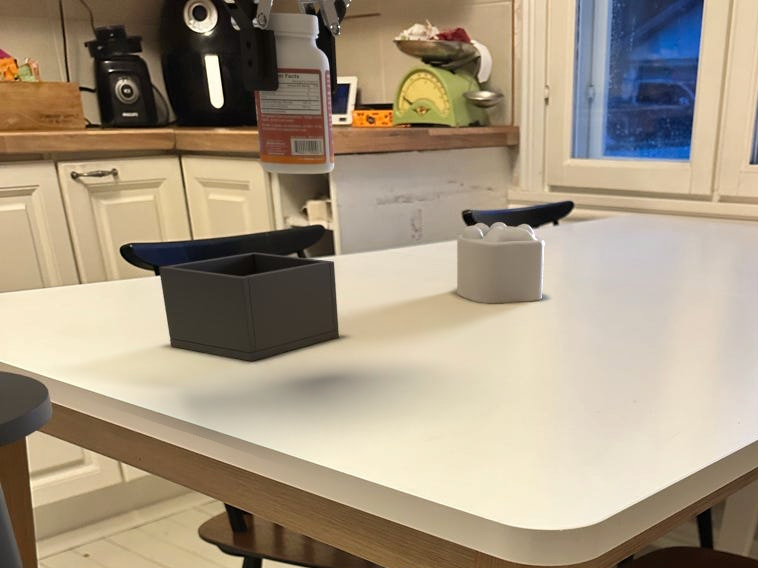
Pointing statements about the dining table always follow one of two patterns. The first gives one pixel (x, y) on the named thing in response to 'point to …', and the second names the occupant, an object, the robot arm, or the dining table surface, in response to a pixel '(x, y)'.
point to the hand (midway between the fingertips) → (292, 89)
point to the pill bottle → (296, 101)
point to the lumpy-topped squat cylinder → (499, 263)
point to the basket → (250, 304)
